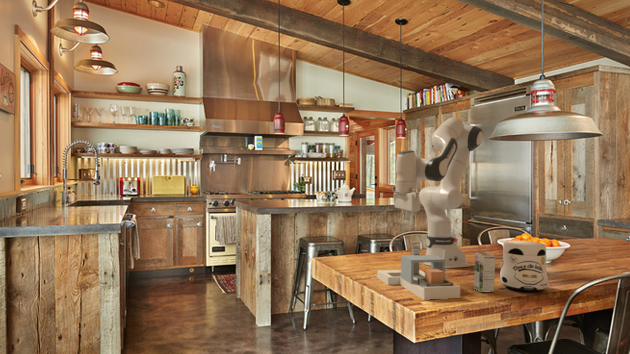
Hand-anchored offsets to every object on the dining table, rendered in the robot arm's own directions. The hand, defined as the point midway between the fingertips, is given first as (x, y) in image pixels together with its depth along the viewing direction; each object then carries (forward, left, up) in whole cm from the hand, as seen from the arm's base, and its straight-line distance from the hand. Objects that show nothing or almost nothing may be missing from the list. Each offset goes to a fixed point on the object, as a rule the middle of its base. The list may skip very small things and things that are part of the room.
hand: (406, 220), depth 191 cm
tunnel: (0, +17, -22) cm, 27 cm away
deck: (+3, +15, -25) cm, 29 cm away
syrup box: (-22, +25, -25) cm, 41 cm away
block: (0, +27, -22) cm, 35 cm away
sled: (0, +20, -22) cm, 29 cm away
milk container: (-40, +24, -25) cm, 53 cm away
